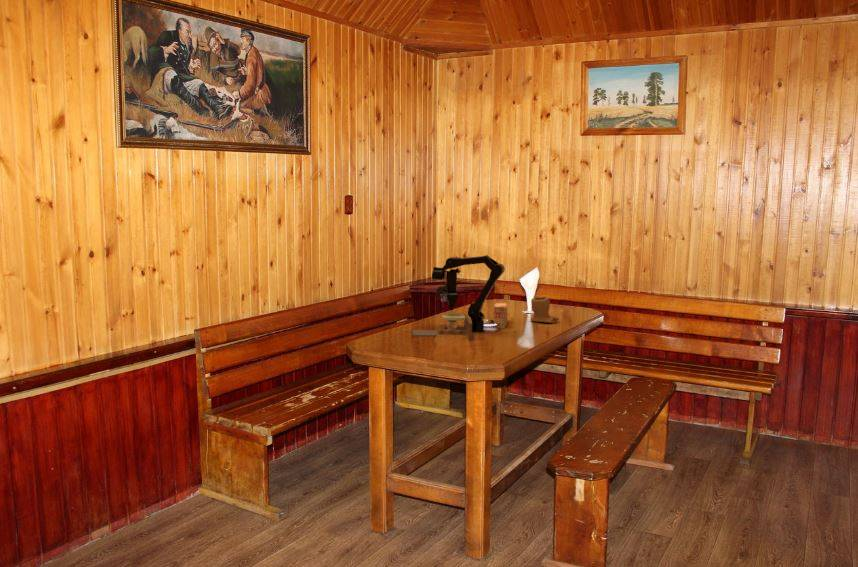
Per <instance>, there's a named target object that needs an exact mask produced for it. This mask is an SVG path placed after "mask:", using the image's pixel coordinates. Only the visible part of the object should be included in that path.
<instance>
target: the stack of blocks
mask: <svg viewBox="0 0 858 567" xmlns="http://www.w3.org/2000/svg"><path fill="white" fill-rule="evenodd" d="M507 304H508V303H506V302H504V303H503V302H495V304H494V307H493V324H494V323H496V324H497V326H498V328H497V329H501V328H504V329H505V328H506V327H505V326H507V323H508V305H507ZM504 329H503V330H504Z"/></svg>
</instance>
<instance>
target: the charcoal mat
mask: <svg viewBox="0 0 858 567" xmlns="http://www.w3.org/2000/svg"><path fill="white" fill-rule="evenodd" d="M437 336H438V334H437V331H436V330H435V329H433V330H432V329H431V330H430V329H429V330H428V329H427V330H426V329H413V330H412V337H413V338H415V337H434V338H435V337H437Z"/></svg>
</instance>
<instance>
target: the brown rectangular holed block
mask: <svg viewBox="0 0 858 567" xmlns="http://www.w3.org/2000/svg"><path fill="white" fill-rule="evenodd" d="M463 315H464V316H465V318H466V321H464V322H463V326H462V325H460V326H459V325H457V329H456V330H447V325H438V326H437V331H438V335H440V336H441V335H443V336H444V335H452V336H453V335H455V336H456V335H458V336H459V335H460V336H461V335H462V336H466V338H467V340H468V341H473V340H472V338H473V336H472V335H473V332H472V321H471V318H470V317H469V315H468V313H466V314H463Z"/></svg>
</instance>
